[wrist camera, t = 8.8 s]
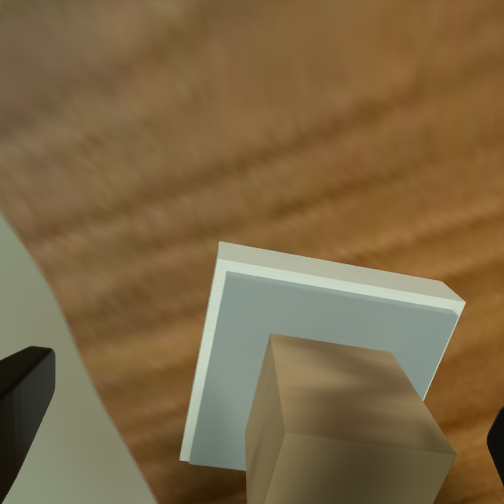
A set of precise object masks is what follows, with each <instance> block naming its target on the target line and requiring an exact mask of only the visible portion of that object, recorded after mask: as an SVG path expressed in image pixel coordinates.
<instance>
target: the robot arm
mask: <svg viewBox="0 0 504 504" xmlns="http://www.w3.org/2000/svg"><path fill="white" fill-rule="evenodd" d="M54 390H55V352H54V350H53V349H51V348H45V347H37V346H30V347H27V348H25V349H23V350H21V351H19V352H17V353H15V354H13V355H10V356H8V357H6V358H4V359H2V360H0V504H2V502H3V500H4V499H5V497H6V495H7V494H8V492H9V490H10V488H11V486H12V485H13V483H14V481H15V479H16V477H17V475H18V473H19V471H20V469H21V466H22V465H23V462H24V460H25V458H26V455H27V453H28V451H29V449H30V446H31V444H32V442H33V440H34V437H35V435H36V433H37V431H38V428H39V426H40V424H41V422H42V419H43V417H44V415H45V412H46V410H47V408H48V406H49V404H50V401H51V399H52V397H53V393H54ZM487 446H488V449H489V452H490V454H491V456H492V459H493V461H494V464H495V466H496V469H497V471H498V474H499V476H500V478H501V481H502V483H503V486H504V406H503V407H502V408H501V409H500V410H499V412H498V414H497V416H496V418H495V420H494V422H493V424H492V426H491V428H490V430H489V432H488V435H487Z"/></svg>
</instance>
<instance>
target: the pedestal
mask: <svg viewBox="0 0 504 504" xmlns="http://www.w3.org/2000/svg"><path fill="white" fill-rule="evenodd" d="M465 303H466V302H465V301H464V300H463V299H461V298H460V297H459V296H458V295H457V294H456V293H454V292H453V291H452V290H451V289H450V288H449V287H447V286H446V285H445V284H444V283H443V282H442V281H437V280H431V279H426V278H420V277H415V276H409V275H404V274H398V273H393V272H387V271H381V270H376V269H370V268H365V267H359V266H354V265H348V264H343V263H337V262H332V261H326V260H320V259H315V258H309V257H304V256H298V255H293V254H287V253H282V252H276V251H271V250H265V249H259V248H254V247H248V246H243V245H237V244H232V243H226V242H221V241H219V246H218V251H217V256H216V262H215V267H214V272H213V278H212V283H211V288H210V294H209V299H208V304H207V310H206V315H205V320H204V326H203V331H202V336H201V342H200V347H199V352H198V358H197V363H196V368H195V374H194V379H193V384H192V390H191V395H190V400H189V406H188V411H187V416H186V422H185V427H184V433H183V440H182V446H181V453H180V459H179V460H181V461H189V464H194V465H202V466H211V467H219V468H228V469H236V470H244V471H246V456H245V430H246V426H247V422H248V418H249V414H250V410H251V406H252V402H253V398H254V394H255V391H256V387H257V383H258V379H259V375H260V371H261V367H262V363H263V359H264V355H265V351H266V347H267V343H268V339H269V335H270V333H272V334H279V335H285V336H291V337H298V338H304V339H311V340H317V341H323V342H330V343H336V344H342V345H349V346H355V347H362V348H368V349H374V350H381V351H387V352H392V353H393V355H394V357H395V358H396V360H397V361H398V363H399V364H400V366H401V368H402V369H403V371H404V372H405V374H406V375H407V377H408V379H409V380H410V382H411V383H412V385H413V387H414V388H415V390H416V391H417V393H418V394H419V396H420V398H421V399H422V401H423V400H424V398H425V396H426V393H427V391H428V389H429V386H430V384H431V382H432V379H433V377H434V375H435V372H436V370H437V368H438V366H439V363H440V361H441V359H442V356H443V354H444V352H445V349H446V347H447V345H448V342H449V340H450V338H451V335H452V333H453V331H454V328H455V326H456V324H457V321H458V319H459V317H460V314H461V312H462V310H463V308H464V305H465Z"/></svg>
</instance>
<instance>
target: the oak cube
mask: <svg viewBox="0 0 504 504" xmlns="http://www.w3.org/2000/svg"><path fill="white" fill-rule="evenodd" d="M245 456H246V488H247V504H433V502H434V500H435V498H436V496H437V494H438V492H439V490H440V488H441V486H442V484H443V482H444V480H445V478H446V476H447V474H448V472H449V470H450V468H451V466H452V464H453V462H454V460H455V458H456V456H457V455H456V453H455V451H454V450H453V448H452V447H451V445H450V443H449V442H448V440H447V439H446V437H445V436H444V434H443V432H442V431H441V429H440V428H439V426H438V425H437V423H436V421H435V420H434V418H433V417H432V415H431V413H430V412H429V410H428V409H427V407H426V406H425V404H424V402H423V401H422V399H421V398H420V396H419V394H418V393H417V391H416V390H415V388H414V387H413V385H412V383H411V382H410V380H409V379H408V377H407V375H406V374H405V372H404V371H403V369H402V368H401V366H400V364H399V363H398V361H397V360H396V358H395V357H394V355H393V353H392V352H387V351H381V350H374V349H368V348H362V347H355V346H349V345H342V344H336V343H330V342H323V341H317V340H311V339H304V338H298V337H291V336H285V335H279V334H272V333H270V335H269V339H268V343H267V347H266V351H265V355H264V359H263V363H262V367H261V371H260V375H259V379H258V383H257V387H256V391H255V394H254V398H253V402H252V406H251V410H250V414H249V418H248V422H247V426H246V430H245Z"/></svg>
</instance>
